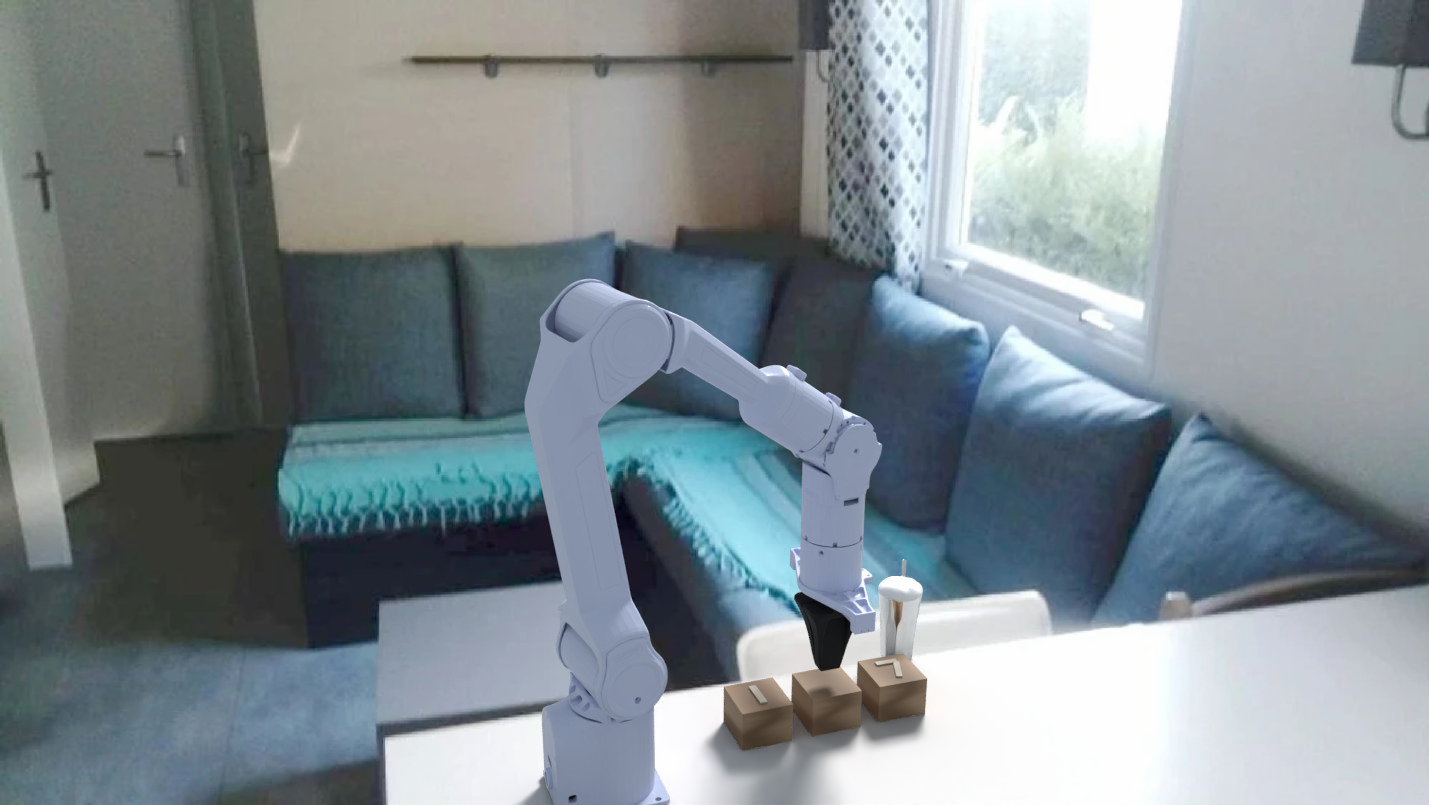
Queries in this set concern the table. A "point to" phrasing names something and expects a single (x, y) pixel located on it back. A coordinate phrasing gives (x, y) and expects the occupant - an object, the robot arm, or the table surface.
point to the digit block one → (758, 713)
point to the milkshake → (898, 613)
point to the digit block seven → (891, 687)
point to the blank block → (826, 701)
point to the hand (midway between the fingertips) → (827, 666)
